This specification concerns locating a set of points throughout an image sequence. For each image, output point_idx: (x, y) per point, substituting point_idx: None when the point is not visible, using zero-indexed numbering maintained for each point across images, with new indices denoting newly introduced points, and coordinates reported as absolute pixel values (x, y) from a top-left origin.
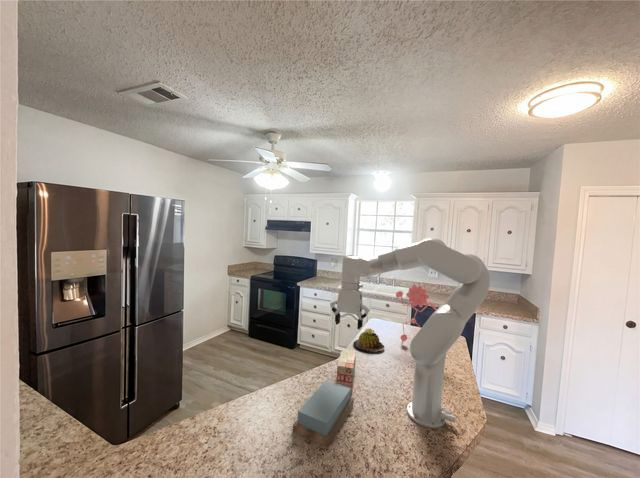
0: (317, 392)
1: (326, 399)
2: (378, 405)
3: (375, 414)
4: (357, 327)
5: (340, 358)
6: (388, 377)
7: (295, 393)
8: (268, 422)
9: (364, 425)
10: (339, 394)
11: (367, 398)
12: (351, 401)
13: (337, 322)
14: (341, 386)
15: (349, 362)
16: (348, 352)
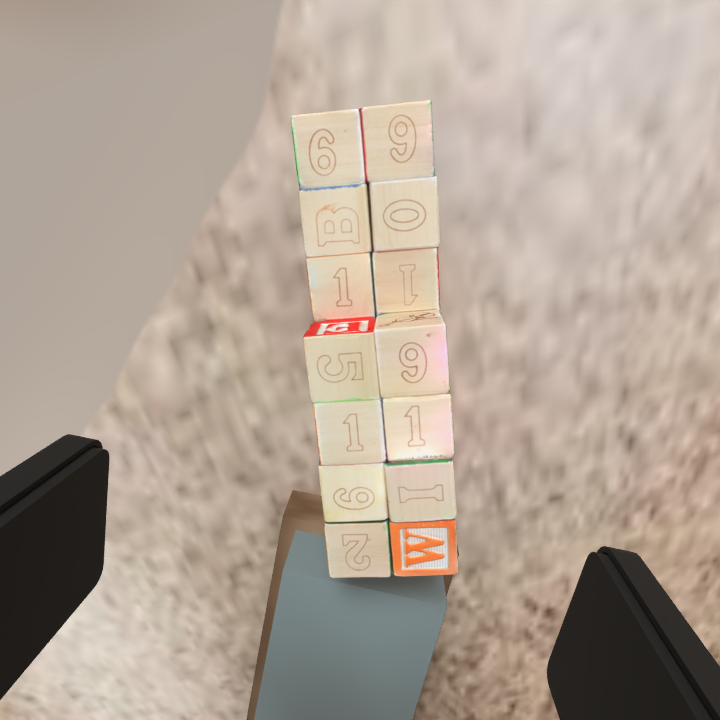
0: (274, 682)
1: (335, 716)
2: (584, 471)
3: (565, 537)
4: (555, 703)
5: (328, 472)
6: (683, 149)
7: (152, 509)
8: (141, 686)
9: (513, 610)
10: (391, 669)
11: (524, 434)
12: (450, 576)
13: (74, 609)
14: (389, 605)
15: (417, 515)
16: (379, 336)
